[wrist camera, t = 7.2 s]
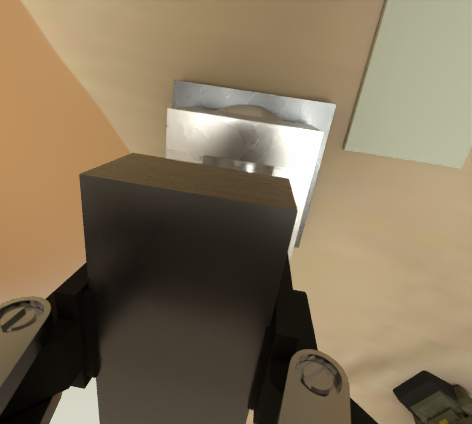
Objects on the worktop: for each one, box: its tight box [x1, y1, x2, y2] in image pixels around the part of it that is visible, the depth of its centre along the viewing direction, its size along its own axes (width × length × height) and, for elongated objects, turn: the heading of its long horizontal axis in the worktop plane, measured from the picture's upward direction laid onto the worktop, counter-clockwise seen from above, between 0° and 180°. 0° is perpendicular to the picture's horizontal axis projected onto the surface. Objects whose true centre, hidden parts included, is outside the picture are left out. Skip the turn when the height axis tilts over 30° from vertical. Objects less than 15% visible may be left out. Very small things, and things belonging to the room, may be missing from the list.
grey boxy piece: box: [165, 105, 323, 264], centre depth 21 cm, size 11×11×6 cm
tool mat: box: [343, 0, 472, 168], centre depth 22 cm, size 12×10×1 cm
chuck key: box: [80, 153, 298, 424], centre depth 12 cm, size 9×4×9 cm, turn 172°
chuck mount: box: [173, 80, 336, 248], centre depth 25 cm, size 13×13×2 cm
